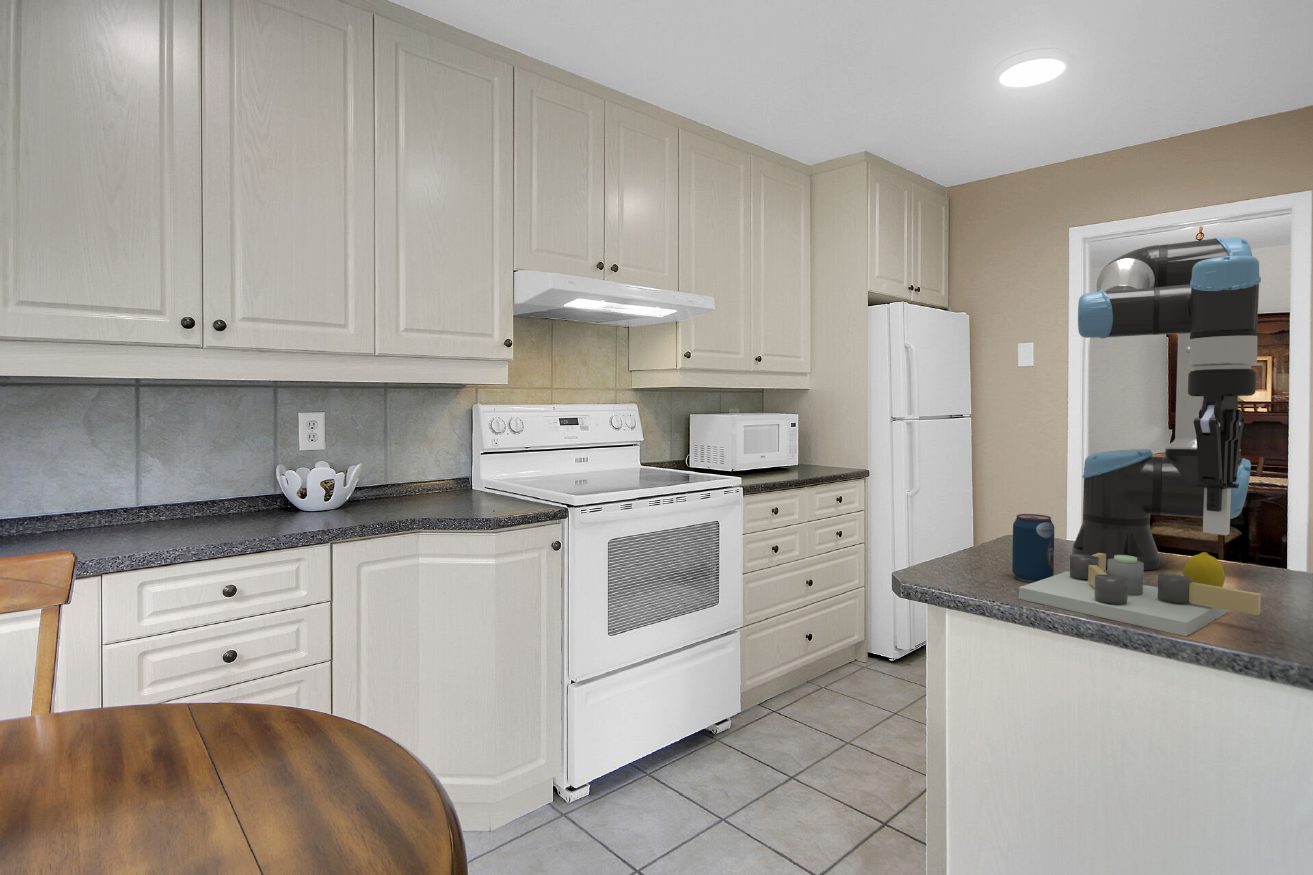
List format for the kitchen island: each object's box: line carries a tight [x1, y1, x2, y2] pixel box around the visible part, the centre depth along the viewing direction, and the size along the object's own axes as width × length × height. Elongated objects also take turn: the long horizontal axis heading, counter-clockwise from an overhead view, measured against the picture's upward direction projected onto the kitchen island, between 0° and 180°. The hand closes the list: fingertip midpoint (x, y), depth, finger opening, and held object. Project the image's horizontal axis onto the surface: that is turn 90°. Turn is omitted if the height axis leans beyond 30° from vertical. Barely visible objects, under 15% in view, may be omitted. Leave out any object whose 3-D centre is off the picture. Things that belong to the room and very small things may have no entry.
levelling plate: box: [1018, 555, 1229, 637], centre depth 116 cm, size 18×24×8 cm
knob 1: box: [1069, 553, 1107, 579], centre depth 128 cm, size 10×4×4 cm, turn 126°
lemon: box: [1182, 552, 1226, 587], centre depth 119 cm, size 6×6×8 cm
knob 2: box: [1157, 573, 1262, 616], centre depth 108 cm, size 13×4×4 cm, turn 36°
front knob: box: [1088, 565, 1128, 604], centre depth 116 cm, size 13×4×4 cm, turn 162°
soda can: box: [1011, 513, 1055, 583], centre depth 133 cm, size 7×7×12 cm
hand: (1216, 533), depth 101 cm, fingers closed
